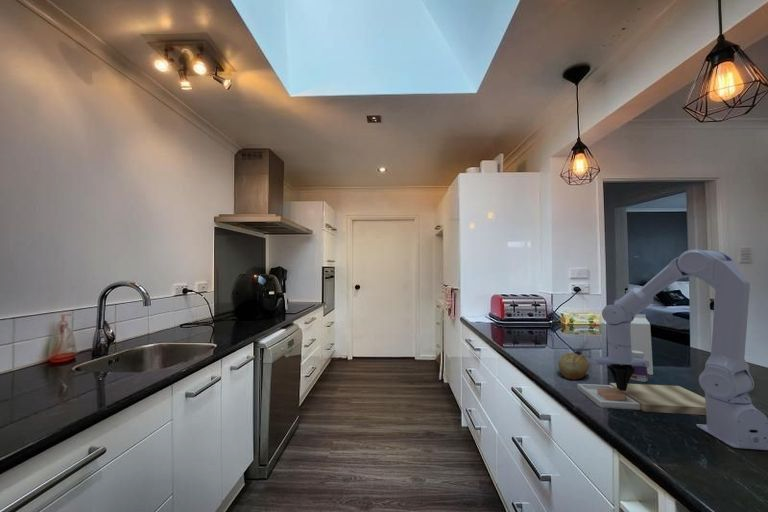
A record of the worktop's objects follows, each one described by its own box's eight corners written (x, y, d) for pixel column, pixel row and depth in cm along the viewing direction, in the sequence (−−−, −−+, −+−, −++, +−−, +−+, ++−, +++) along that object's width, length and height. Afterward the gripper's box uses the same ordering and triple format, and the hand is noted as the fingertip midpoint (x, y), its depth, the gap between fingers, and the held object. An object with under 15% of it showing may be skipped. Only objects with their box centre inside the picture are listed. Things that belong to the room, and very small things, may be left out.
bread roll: (591, 372, 115) (590, 351, 115) (588, 384, 103) (587, 360, 103) (562, 367, 121) (561, 347, 121) (556, 378, 109) (555, 356, 109)
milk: (626, 368, 118) (622, 312, 120) (644, 370, 116) (641, 313, 118) (634, 373, 112) (630, 314, 114) (653, 375, 111) (649, 315, 112)
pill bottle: (651, 382, 103) (650, 354, 104) (634, 381, 104) (632, 353, 105) (641, 377, 109) (640, 350, 109) (624, 376, 110) (623, 349, 110)
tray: (610, 390, 97) (610, 385, 97) (640, 409, 83) (640, 404, 83) (577, 388, 99) (577, 383, 99) (601, 407, 85) (600, 401, 85)
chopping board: (679, 392, 95) (678, 385, 95) (728, 416, 79) (727, 408, 79) (609, 389, 98) (609, 382, 98) (644, 411, 82) (643, 404, 82)
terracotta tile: (615, 392, 93) (614, 387, 93) (625, 399, 88) (624, 394, 88) (597, 393, 94) (597, 388, 94) (606, 400, 89) (606, 394, 89)
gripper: (636, 341, 94) (639, 385, 93) (586, 340, 96) (588, 383, 96) (653, 347, 87) (656, 395, 86) (598, 346, 89) (600, 392, 89)
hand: (621, 389), depth 90 cm, fingers closed
